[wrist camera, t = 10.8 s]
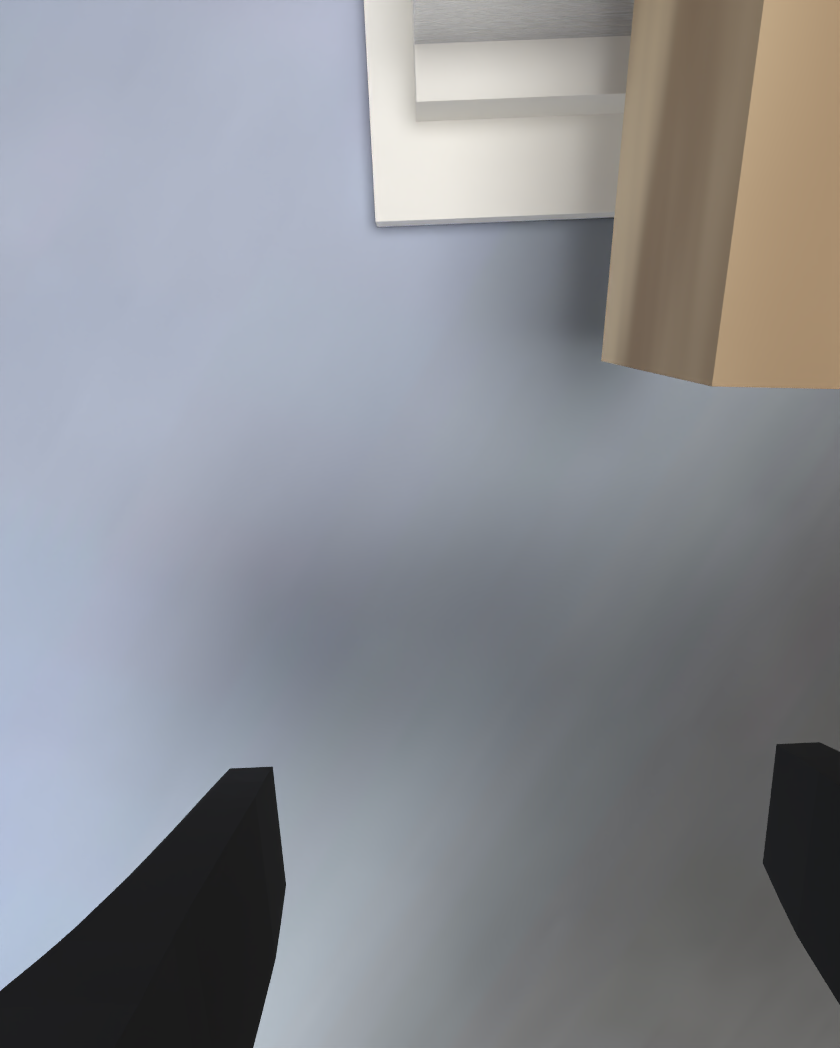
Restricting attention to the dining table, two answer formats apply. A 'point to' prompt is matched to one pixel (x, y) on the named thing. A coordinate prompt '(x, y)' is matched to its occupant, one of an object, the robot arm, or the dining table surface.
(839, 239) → the oak bar
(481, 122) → the ridge stand
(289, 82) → the dining table surface
